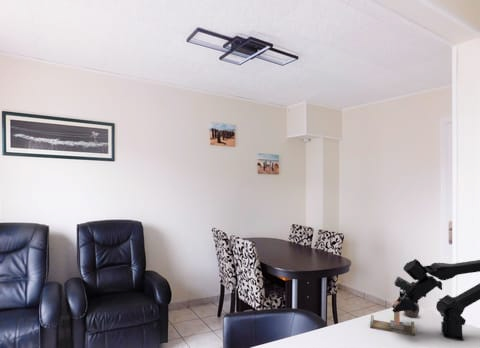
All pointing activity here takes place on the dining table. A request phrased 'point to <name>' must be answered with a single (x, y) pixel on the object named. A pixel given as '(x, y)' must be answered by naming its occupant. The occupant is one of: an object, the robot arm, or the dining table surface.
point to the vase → (412, 314)
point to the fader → (396, 319)
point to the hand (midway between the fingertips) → (393, 309)
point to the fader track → (386, 326)
